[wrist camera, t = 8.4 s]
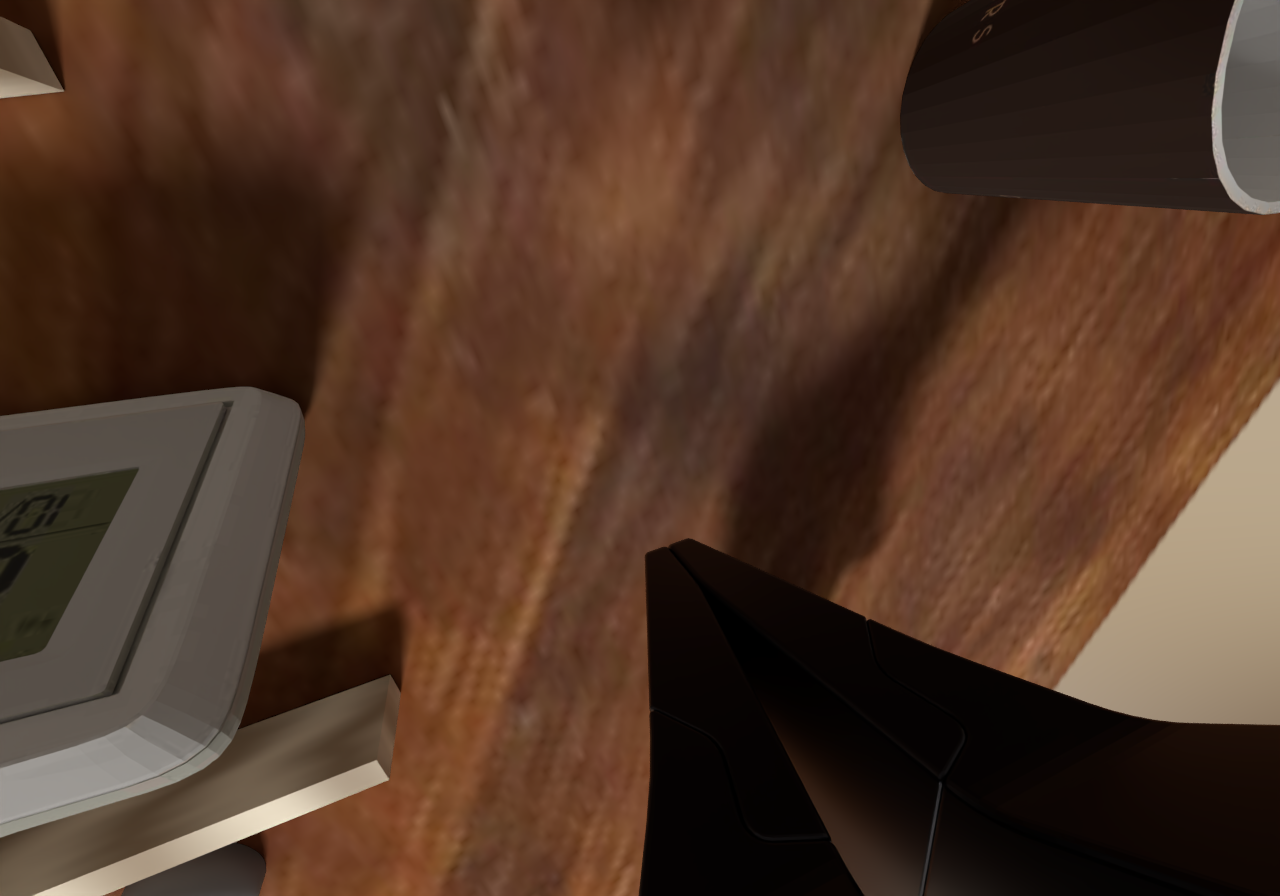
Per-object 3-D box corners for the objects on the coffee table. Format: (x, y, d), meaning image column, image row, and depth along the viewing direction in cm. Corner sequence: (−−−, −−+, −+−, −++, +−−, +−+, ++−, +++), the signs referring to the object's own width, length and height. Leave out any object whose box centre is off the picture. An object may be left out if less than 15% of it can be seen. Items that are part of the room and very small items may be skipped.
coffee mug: (868, 235, 21) (1162, 236, 12) (886, -37, 17) (1330, -318, 8) (1074, 200, 24) (1436, 181, 15) (1129, -40, 20) (1655, -256, 11)
